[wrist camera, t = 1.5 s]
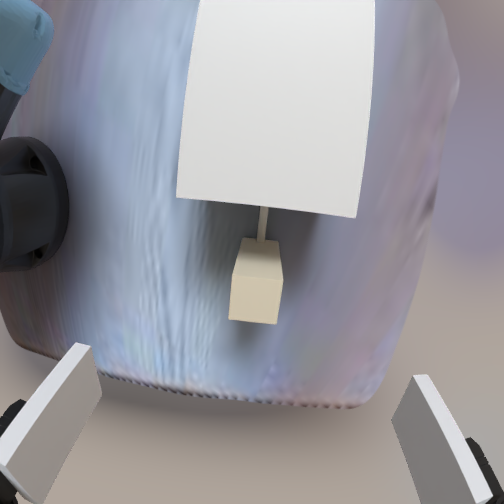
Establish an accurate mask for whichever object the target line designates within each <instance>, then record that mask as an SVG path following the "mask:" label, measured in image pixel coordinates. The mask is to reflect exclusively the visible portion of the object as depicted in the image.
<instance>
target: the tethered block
mask: <svg viewBox="0 0 504 504" xmlns="http://www.w3.org/2000/svg"><path fill="white" fill-rule="evenodd" d="M268 208H269V207H266V206H260V214H259V222H258V231H257V239H255V238H246V237H243V238H242V241H241V245H240V249H239V252H238V256H237V259H236V263H235V267H234V270H233V274H232V283H231V294H230V306H229V318H228V319H231V320H240V321H248V322H257V323H266V324H277V317H278V311H279V305H280V299H281V293H282V286H283V274H282V266H281V258H280V250H279V242H278V241H272V240H265V233H266V225H267V217H268Z"/></svg>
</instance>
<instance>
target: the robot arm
mask: <svg viewBox="0 0 504 504" xmlns="http://www.w3.org/2000/svg"><path fill="white" fill-rule="evenodd" d="M53 35H54V26H53V22H52V19H51V18H50V16H49V15H48V14H47V13H46V12H45V11H43V10H42V9H41V8H40V7H38V6H37V5H36V4H35V3H33V2H32V1H31V0H0V140H1V137H2V135H3V133H4V131H5V128H6V126H7V124H8V122H9V120H10V118H11V116H12V114H13V112H14V110H15V108H16V106H17V104H18V102H19V100H20V98H21V96H22V95H25V94H26V93H27V91H28V90H29V87H30V81H31V79H32V77H33V75H34V73H35V71H36V69H37V68H38V66H39V64H40V62H41V60H42V59H43V57H44V55H45V54H46V52H47V50H48V49H49V47H50V45H51V42H52V39H53ZM68 213H69V200H68V191H67V186H66V181H65V178H64V174H63V172H62V169H61V167H60V164H59V162H58V160H57V159H56V157H55V155H54V154H53V153H52V151H51V150H50V149H49V148H48V147H47V146H46V145H45V144H44V143H42V142H41V141H39V140H37V139H35V138H32V137H10V138H6V139H3V140H1V141H0V272H12V271H24V270H29V269H32V268H35V267H37V266H38V265H40V264H42V263H43V262H45V261H47V260H48V259H49V258H51V257H52V256H53V255H54V254H55V252H56V251H57V250H58V248H59V247H60V245H61V243H62V240H63V238H64V235H65V232H66V228H67V223H68ZM101 396H102V390H101V387H100V383H99V379H98V375H97V371H96V366H95V362H94V358H93V353H92V348H91V346H88V345H84V344H80V343H75V344H74V345H73V346H72V347H71V349H70V350H69V351H68V352H67V353H66V355H65V356H64V357H63V358H62V359H61V360H60V362H59V363H58V364H57V365H56V367H55V368H54V369H53V370H52V372H51V373H50V374H49V375H48V376H47V378H46V379H45V380H44V381H43V382H42V384H41V385H40V386H39V387H38V389H37V390H36V391H35V393H34V394H33V395H32V397H31V398H30V399H29V400H28V401H27V402H26V401H24V400H21V399H20V400H18V401H17V402H15V403H13V404H12V405H10V406H9V408H8V409H7V410H6V411H5V412H4V414H3V416H1V418H0V504H18V501H17V499H16V497H15V494H16V492H17V491H18V492H19V493H20V495H22V497H23V498H24V499H26V500H28V501H29V502H31V503H33V504H43V503H44V500H45V499H46V497H47V494H48V493H49V490H50V489H51V487H52V485H53V483H54V481H55V479H56V477H57V475H58V473H59V471H60V469H61V467H62V466H63V463H64V462H65V460H66V458H67V456H68V454H69V453H70V451H71V449H72V447H73V445H74V443H75V442H76V440H77V438H78V436H79V434H80V433H81V431H82V429H83V427H84V425H85V424H86V422H87V420H88V419H89V417H90V415H91V413H92V411H93V410H94V408H95V406H96V404H97V403H98V401H99V399H100V398H101ZM391 421H392V424H393V426H394V429H395V432H396V434H397V437H398V439H399V442H400V445H401V448H402V450H403V453H404V456H405V458H406V461H407V464H408V467H409V470H410V473H411V475H412V478H413V481H414V484H415V487H416V490H417V493H418V496H419V499H420V502H421V504H504V492H503V490H502V488H501V486H500V484H499V482H498V480H497V478H496V476H495V474H494V472H493V470H492V468H491V466H490V465H488V461H487V459H486V457H484V453H483V451H482V450H481V448H480V446H479V445H478V444H477V443H476V442H475V441H474V440H473V439H472V438H471V437H470V438H467V439H464V437H463V435H462V433H461V431H460V429H459V428H458V426H457V424H456V422H455V421H454V419H453V417H452V415H451V413H450V412H449V410H448V408H447V407H446V405H445V403H444V401H443V400H442V398H441V396H440V394H439V393H438V391H437V389H436V388H435V386H434V384H433V383H432V381H431V379H430V378H429V376H428V375H427V374H426V375H413V376H412V378H411V380H410V383H409V385H408V387H407V389H406V391H405V394H404V395H403V398H402V400H401V402H400V404H399V406H398V408H397V410H396V411H395V413H394V415H393V417H392V419H391Z"/></svg>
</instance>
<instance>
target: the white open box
mask: <svg viewBox="0 0 504 504" xmlns="http://www.w3.org/2000/svg"><path fill="white" fill-rule="evenodd" d="M374 34H375V0H200V4H199V9H198V15H197V20H196V26H195V32H194V38H193V44H192V50H191V57H190V64H189V71H188V78H187V86H186V94H185V102H184V110H183V120H182V129H181V140H180V151H179V163H178V176H177V191H176V198H187V199H198V200H209V201H219V202H229V203H239V204H248V205H257V206H266V207H274V208H283V209H291V210H299V211H306V212H314V213H322V214H329V215H336V216H343V217H350V218H356V213H357V207H358V201H359V195H360V188H361V182H362V175H363V167H364V160H365V152H366V144H367V135H368V126H369V116H370V105H371V93H372V79H373V61H374Z"/></svg>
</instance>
